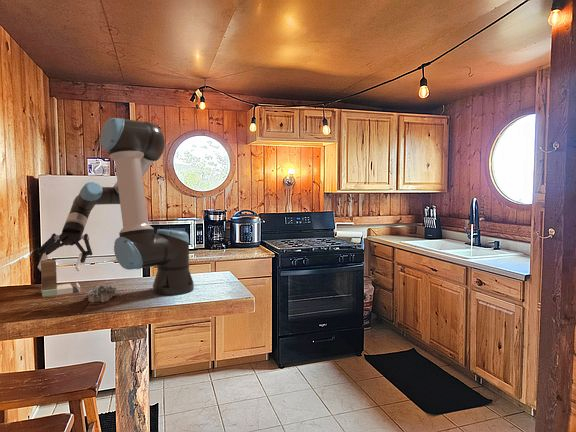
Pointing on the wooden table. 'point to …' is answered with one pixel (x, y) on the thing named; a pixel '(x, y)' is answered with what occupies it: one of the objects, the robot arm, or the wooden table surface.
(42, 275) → the walnut block
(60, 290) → the board
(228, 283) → the wooden table surface
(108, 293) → the egg carton
